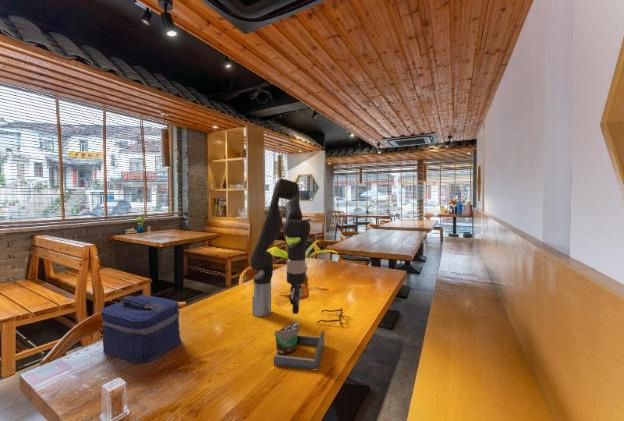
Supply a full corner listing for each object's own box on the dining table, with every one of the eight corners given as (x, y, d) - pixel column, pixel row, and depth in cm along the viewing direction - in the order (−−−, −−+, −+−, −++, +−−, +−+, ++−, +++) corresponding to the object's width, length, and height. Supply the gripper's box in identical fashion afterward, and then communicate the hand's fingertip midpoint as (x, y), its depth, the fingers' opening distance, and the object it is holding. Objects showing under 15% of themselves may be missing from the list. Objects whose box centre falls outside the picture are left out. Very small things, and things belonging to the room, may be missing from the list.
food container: (285, 360, 107) (285, 335, 106) (274, 355, 110) (274, 330, 110) (305, 346, 116) (305, 323, 116) (294, 342, 120) (294, 319, 120)
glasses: (341, 327, 135) (341, 317, 135) (315, 325, 137) (315, 315, 137) (343, 316, 148) (343, 306, 148) (319, 313, 150) (319, 304, 150)
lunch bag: (90, 349, 113) (89, 300, 112) (139, 327, 133) (138, 285, 132) (143, 368, 101) (141, 313, 100) (188, 340, 121) (187, 294, 120)
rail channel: (273, 365, 104) (273, 349, 103) (286, 341, 121) (286, 327, 120) (317, 370, 101) (317, 354, 100) (324, 345, 118) (324, 331, 117)
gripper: (291, 265, 116) (290, 305, 117) (282, 274, 103) (281, 319, 104) (308, 266, 115) (308, 307, 116) (301, 275, 102) (301, 321, 103)
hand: (295, 312), depth 110 cm, fingers closed
